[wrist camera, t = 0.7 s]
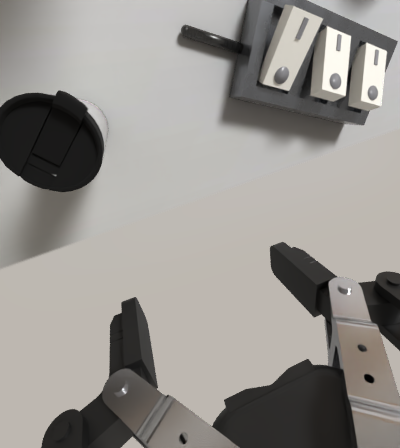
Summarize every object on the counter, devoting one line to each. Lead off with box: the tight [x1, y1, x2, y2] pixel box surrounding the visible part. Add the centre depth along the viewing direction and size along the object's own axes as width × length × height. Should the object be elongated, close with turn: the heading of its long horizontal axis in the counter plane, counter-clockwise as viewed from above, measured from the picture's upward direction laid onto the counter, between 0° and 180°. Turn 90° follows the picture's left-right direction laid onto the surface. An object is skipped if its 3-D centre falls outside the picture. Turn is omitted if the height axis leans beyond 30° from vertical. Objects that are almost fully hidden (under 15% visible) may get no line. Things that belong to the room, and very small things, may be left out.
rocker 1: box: [257, 4, 323, 91], centre depth 31 cm, size 8×4×2 cm, turn 171°
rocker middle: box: [310, 26, 351, 102], centre depth 33 cm, size 8×4×2 cm, turn 170°
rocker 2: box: [348, 43, 387, 111], centre depth 36 cm, size 8×4×2 cm, turn 170°
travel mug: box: [0, 91, 108, 192], centre depth 23 cm, size 6×7×20 cm
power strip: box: [181, 0, 398, 125], centre depth 35 cm, size 12×33×4 cm, turn 80°
